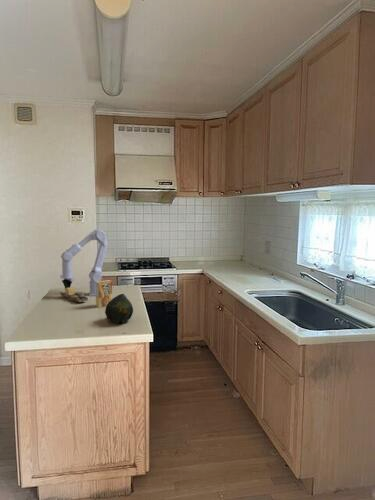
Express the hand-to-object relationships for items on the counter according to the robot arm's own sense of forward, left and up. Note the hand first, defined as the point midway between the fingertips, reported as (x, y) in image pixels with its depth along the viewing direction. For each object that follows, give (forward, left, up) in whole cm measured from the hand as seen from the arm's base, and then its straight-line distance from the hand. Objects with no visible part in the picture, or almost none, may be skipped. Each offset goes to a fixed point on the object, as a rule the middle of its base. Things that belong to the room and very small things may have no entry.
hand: (67, 290), depth 242 cm
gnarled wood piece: (-4, +7, -5) cm, 9 cm away
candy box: (-22, +26, -5) cm, 34 cm away
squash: (-28, +56, -5) cm, 63 cm away
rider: (-2, +3, -2) cm, 4 cm away
